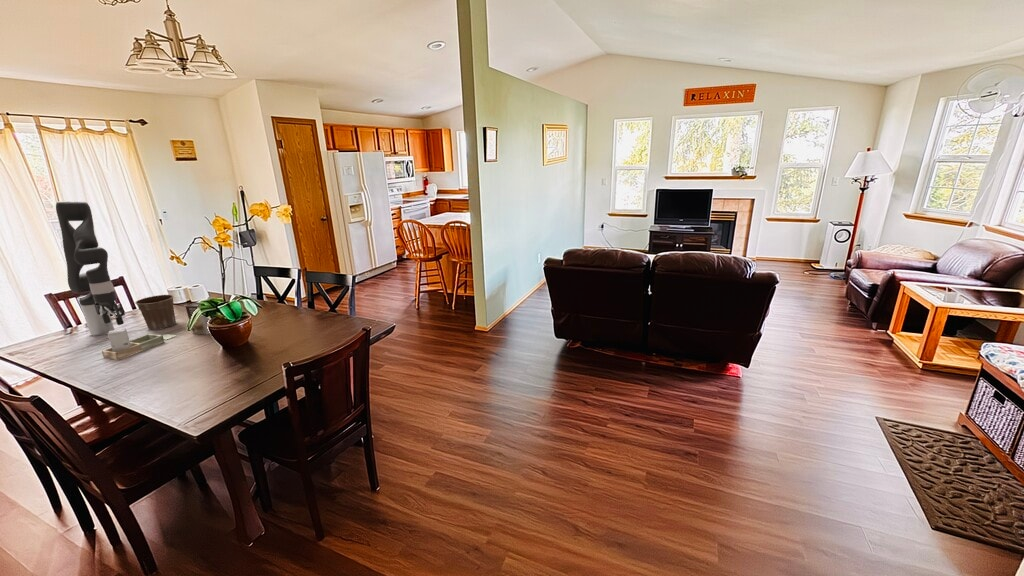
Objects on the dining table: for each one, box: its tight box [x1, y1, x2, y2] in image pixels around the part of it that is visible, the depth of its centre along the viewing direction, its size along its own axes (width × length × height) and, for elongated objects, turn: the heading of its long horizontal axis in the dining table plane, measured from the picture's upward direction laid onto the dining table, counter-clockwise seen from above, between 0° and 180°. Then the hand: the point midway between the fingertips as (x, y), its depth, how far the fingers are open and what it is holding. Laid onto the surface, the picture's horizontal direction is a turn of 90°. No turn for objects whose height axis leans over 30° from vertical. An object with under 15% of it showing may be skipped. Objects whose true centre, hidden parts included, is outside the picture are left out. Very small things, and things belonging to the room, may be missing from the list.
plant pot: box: [134, 294, 177, 331], centre depth 223 cm, size 16×16×16 cm
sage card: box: [162, 334, 177, 341], centre depth 211 cm, size 7×5×1 cm
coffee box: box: [185, 301, 210, 335], centre depth 215 cm, size 9×6×16 cm
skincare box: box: [107, 328, 131, 352], centre depth 191 cm, size 6×4×12 cm
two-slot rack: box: [101, 333, 165, 361], centre depth 197 cm, size 10×20×4 cm, turn 165°
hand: (114, 323), depth 188 cm, fingers open, 8 cm apart
